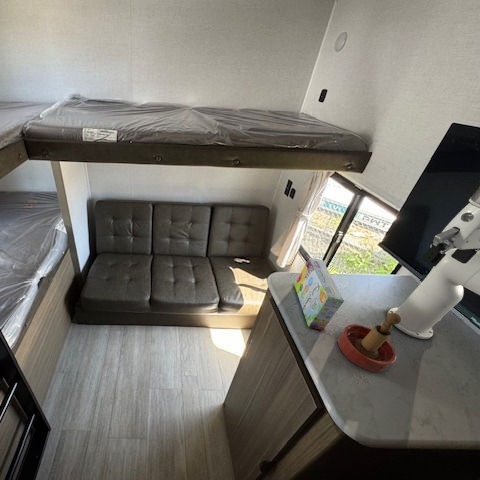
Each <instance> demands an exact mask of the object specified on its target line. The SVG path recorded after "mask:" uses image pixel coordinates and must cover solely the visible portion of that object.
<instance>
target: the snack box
mask: <svg viewBox="0 0 480 480" xmlns="http://www.w3.org/2000/svg"><path fill="white" fill-rule="evenodd" d="M294 288H295V291H296V294H297V298H298V300H299V303H300V306H301V309H302V313H303V315H304V319H305V322H306V324H307V327H308V328H312V329H316V330H320V331H324V329H325V328H326V326H328V324H329V322H330V321H332V318H334V316H335V315H336V313H337V311H338V310H339V309H340V307H341V306H342V305H343V304H344V303H345V299H344V297H343V295H342V293H341V292H340V289H339V288H338V286H337V285H336V282H335V281H334V278H333V276H332V274H331V273H330V271H329V269H328V267H327V265H326V263H325V262H324V260H323V259H320V258H314V257H313V258H312V257H308V258H307V261H306V262H305V264H304V266H303V268H302V270H301V272H300V274H299V275H298V278H297V280H296V281H295V284H294Z"/></svg>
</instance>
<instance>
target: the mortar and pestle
mask: <svg viewBox="0 0 480 480" xmlns="http://www.w3.org/2000/svg"><path fill="white" fill-rule="evenodd" d="M385 318H386V321H383V322H382V323H381V324H376V325H374V326H373V328H371V329H372V330H371V331H370V332H369V334H368V335H367V336H366V337H365V338H364V339H356V340H355V341H354V342H353V343H352V345H353V346H354V347H355V349H357V350H358V351H359V352H360V353H362V354H363V355H365V356H367V357H368V358H371V359H373V360H376V359H377V358H378V356H379V352H378V350H377V349H378V348H379V347H380V346H381V345H382V344H383V343H384V342H385V341H386V340H388V339H389V338H390V337H391V336H392V333H391V330H393V326H395V325H394V324H398V323H400V322H401V317H400V316H399V315H398V314H396V313H389V314H388V315H387V314H386V317H385Z"/></svg>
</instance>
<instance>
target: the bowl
mask: <svg viewBox="0 0 480 480" xmlns="http://www.w3.org/2000/svg"><path fill="white" fill-rule="evenodd" d="M372 329H373V328H371V327H368V326H365V325H362V324H356V323H354V324H353V323H352V324H349V325H347V326H345V327H344V329H343V330H342V331H341V333H340V334H339V335H338V338H337V344H338V347H339V348H340V351H341V352H342V353H343V354H344V356H345V357H346V358H347V359H348V360H349V361H351V362H352V363H353V364H355V365H356V366H358V367H359V368H361V369H364V370H367V371H369V372H374V373H380V372H385V370H387V369H388V368H389V367H390V366H391V365H393V363H394V362H396V360H397V353H396V349H395V348H394V347H393V345H392V343H391V342H390V341H389V340H388V339H387V340H386V341H385V342H384V343H383V344H382V345H381V346H380V347H379V348H378V349H377V350H378V352H379V356H378V358H377V359H376V360H373V359H371V358H368V357H367V356H365V355H363V354H362V353H360V352H359V351H358V350H357V349H355V347H354V346H353V345H352V343H353V342H354V341H355V340H356V339H364V338H365V337H366V336H367V335H368V334H369V332H370V331H371V330H372Z"/></svg>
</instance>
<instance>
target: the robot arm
mask: <svg viewBox="0 0 480 480" xmlns="http://www.w3.org/2000/svg"><path fill="white" fill-rule="evenodd" d="M459 211H460V212H458V213H457V214H456V215H455V216H454V217H453V218H452V219H451V221H450V222H449V223H448V224H447V225H446V226H445V227H444V229H443V230H442V231H441V232H440V233H438V234H435V236H434V237H433V240H432V241H431V243H430V245H429V248H428V249H427V250H426V251H425V253H424V254H423V255H422V257H421V258H420V259H421V261H423V262H424V263H426V264H427V265H429V266H431V267H432V268H431V270H430V272H429V273H428V274H427V275H426V277H425V278H424V279H423V280H422V281H421V282H420V284H419V285H418V286H417V287H416V288H415V289H414V290H413V291H412V292H411V294H409V296H408V297H407V298H406V299H405V300H404V301H403V302H402V303H401V305H400V306H399V307H392V308H390V309H389V310H388V311H387V313H386V316H387V315H388V314H389V313H396V314H398V315H399V316H400V317H401V322H400V323H398V324H394V325H393V326H394V327H396V328H397V329H398V330H399V331H400V332H403V333H404V334H406V335H408V336H410V337H413V338H416V339H421V340H428V339H430V338H431V337H432V336H433V335H434V330H433V327H434V326H435V325H436V324H437V323H439V322H441V321H442V318H444V316H446V315H447V314H448V313H449V312H450V311H451V310H452V309H454V307H455V306H456V305H458V304H459V303H460V302H461V301H462V299H463V298H464V294H465V292H464V291H465V289H467V290H469V291H471V292H473V293H475V294H476V295H478V296H480V186H479V187H478V188H477V190H476V191H475V192H474V193H473V195H472V196H471V197H470V198H469V199H468V203H467V204H466V205H465V207H463V208H462V209H461V210H459ZM446 244H447V245H446ZM445 245H446V246H445ZM464 288H465V289H464Z"/></svg>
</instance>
